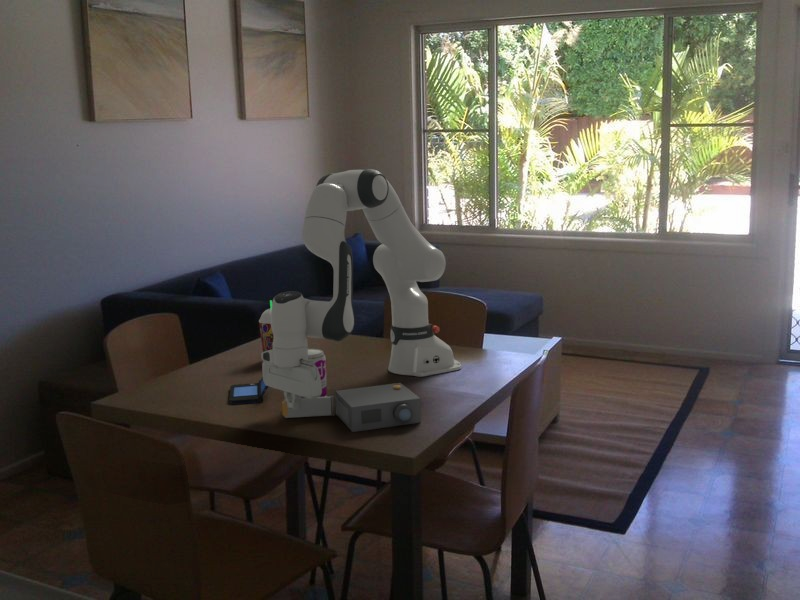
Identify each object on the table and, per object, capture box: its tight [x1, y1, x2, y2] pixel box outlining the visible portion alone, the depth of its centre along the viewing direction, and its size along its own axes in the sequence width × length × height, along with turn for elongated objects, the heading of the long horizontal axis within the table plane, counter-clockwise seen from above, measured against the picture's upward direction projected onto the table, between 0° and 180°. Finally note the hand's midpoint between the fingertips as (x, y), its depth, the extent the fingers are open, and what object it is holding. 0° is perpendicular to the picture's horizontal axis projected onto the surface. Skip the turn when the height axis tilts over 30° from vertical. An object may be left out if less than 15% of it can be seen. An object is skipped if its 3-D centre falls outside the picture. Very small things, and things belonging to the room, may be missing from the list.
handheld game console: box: [228, 376, 270, 405], centre depth 253 cm, size 16×13×9 cm
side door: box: [281, 395, 336, 419], centre depth 233 cm, size 1×13×5 cm, turn 96°
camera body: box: [334, 382, 422, 433], centre depth 229 cm, size 18×17×7 cm
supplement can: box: [301, 348, 328, 398], centre depth 241 cm, size 8×8×15 cm
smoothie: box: [258, 299, 274, 352], centre depth 288 cm, size 8×8×20 cm
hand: (293, 408), depth 230 cm, fingers closed
